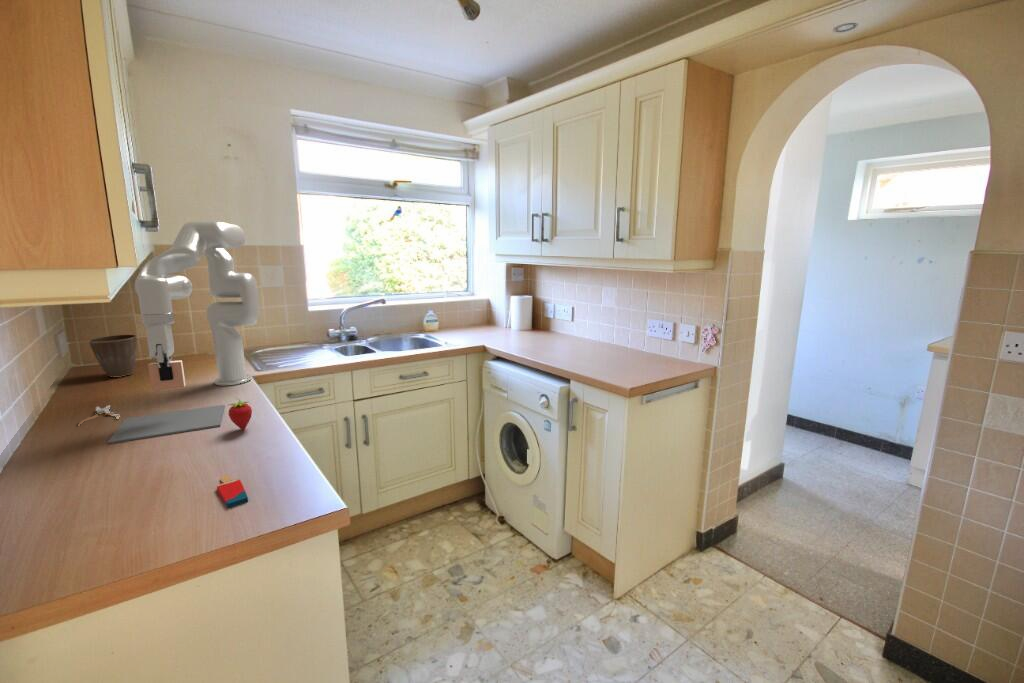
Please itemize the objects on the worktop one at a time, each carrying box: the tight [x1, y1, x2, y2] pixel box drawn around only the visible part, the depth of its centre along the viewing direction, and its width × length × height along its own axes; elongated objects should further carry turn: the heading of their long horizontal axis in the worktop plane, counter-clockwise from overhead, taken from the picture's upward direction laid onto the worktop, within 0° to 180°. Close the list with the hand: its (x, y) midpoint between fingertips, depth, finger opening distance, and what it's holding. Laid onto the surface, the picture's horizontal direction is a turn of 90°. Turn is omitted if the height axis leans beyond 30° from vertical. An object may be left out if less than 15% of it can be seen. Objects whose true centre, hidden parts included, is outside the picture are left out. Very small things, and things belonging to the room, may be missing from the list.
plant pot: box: [88, 334, 138, 377], centre depth 190 cm, size 15×15×16 cm
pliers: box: [95, 404, 121, 420], centre depth 146 cm, size 10×2×15 cm
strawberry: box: [227, 397, 253, 431], centre depth 134 cm, size 6×8×10 cm
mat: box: [107, 404, 226, 445], centre depth 140 cm, size 20×26×1 cm
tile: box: [147, 360, 186, 392], centre depth 141 cm, size 2×8×8 cm, turn 117°
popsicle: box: [216, 474, 249, 509], centre depth 102 cm, size 4×2×15 cm
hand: (167, 378), depth 141 cm, fingers closed on tile, 2 cm apart
